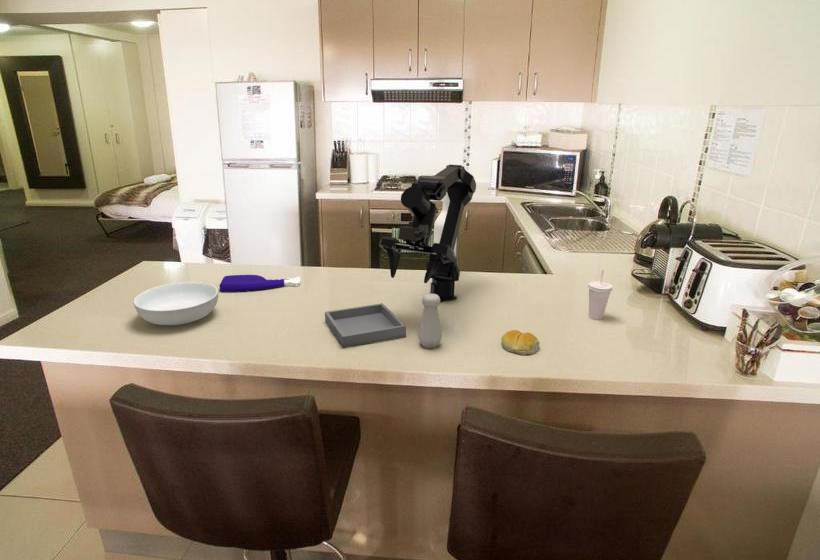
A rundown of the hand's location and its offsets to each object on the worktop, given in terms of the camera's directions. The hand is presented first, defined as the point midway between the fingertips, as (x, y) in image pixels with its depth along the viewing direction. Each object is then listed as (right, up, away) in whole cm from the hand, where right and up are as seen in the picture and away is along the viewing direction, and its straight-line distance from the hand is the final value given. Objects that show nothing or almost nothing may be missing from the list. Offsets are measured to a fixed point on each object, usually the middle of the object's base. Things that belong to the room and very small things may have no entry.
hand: (408, 280), depth 126 cm
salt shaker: (+5, -16, -4) cm, 17 cm away
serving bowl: (-62, -10, +9) cm, 64 cm away
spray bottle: (-48, -2, +34) cm, 59 cm away
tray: (-12, -13, +4) cm, 18 cm away
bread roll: (+27, -17, -4) cm, 32 cm away
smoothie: (+53, -11, +14) cm, 56 cm away
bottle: (+13, +3, +50) cm, 52 cm away
